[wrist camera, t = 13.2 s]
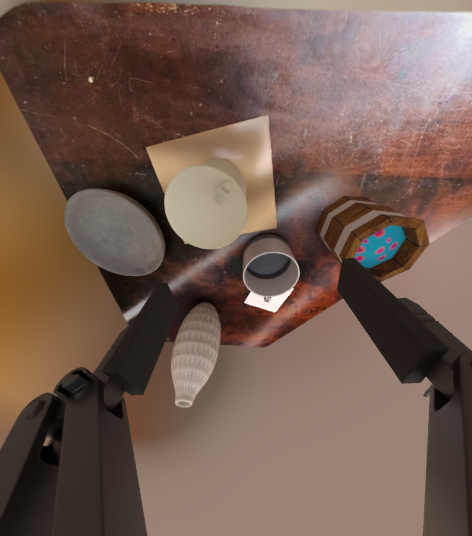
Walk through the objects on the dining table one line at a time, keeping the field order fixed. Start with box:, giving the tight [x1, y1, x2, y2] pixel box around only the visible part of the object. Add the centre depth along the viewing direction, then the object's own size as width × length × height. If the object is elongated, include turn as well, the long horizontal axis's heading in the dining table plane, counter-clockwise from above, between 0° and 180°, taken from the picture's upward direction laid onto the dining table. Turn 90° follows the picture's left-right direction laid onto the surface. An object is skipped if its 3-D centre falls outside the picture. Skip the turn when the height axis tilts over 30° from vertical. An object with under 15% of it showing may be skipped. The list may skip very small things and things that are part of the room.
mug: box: [315, 196, 429, 282], centre depth 38 cm, size 20×14×15 cm
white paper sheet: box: [244, 288, 293, 312], centre depth 56 cm, size 12×12×2 cm
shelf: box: [146, 114, 277, 244], centre depth 33 cm, size 16×18×12 cm
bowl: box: [64, 188, 165, 276], centre depth 42 cm, size 21×21×8 cm
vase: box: [171, 302, 221, 407], centre depth 50 cm, size 13×13×28 cm
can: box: [164, 159, 247, 249], centre depth 24 cm, size 9×9×12 cm
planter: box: [243, 234, 300, 297], centre depth 44 cm, size 13×13×10 cm
